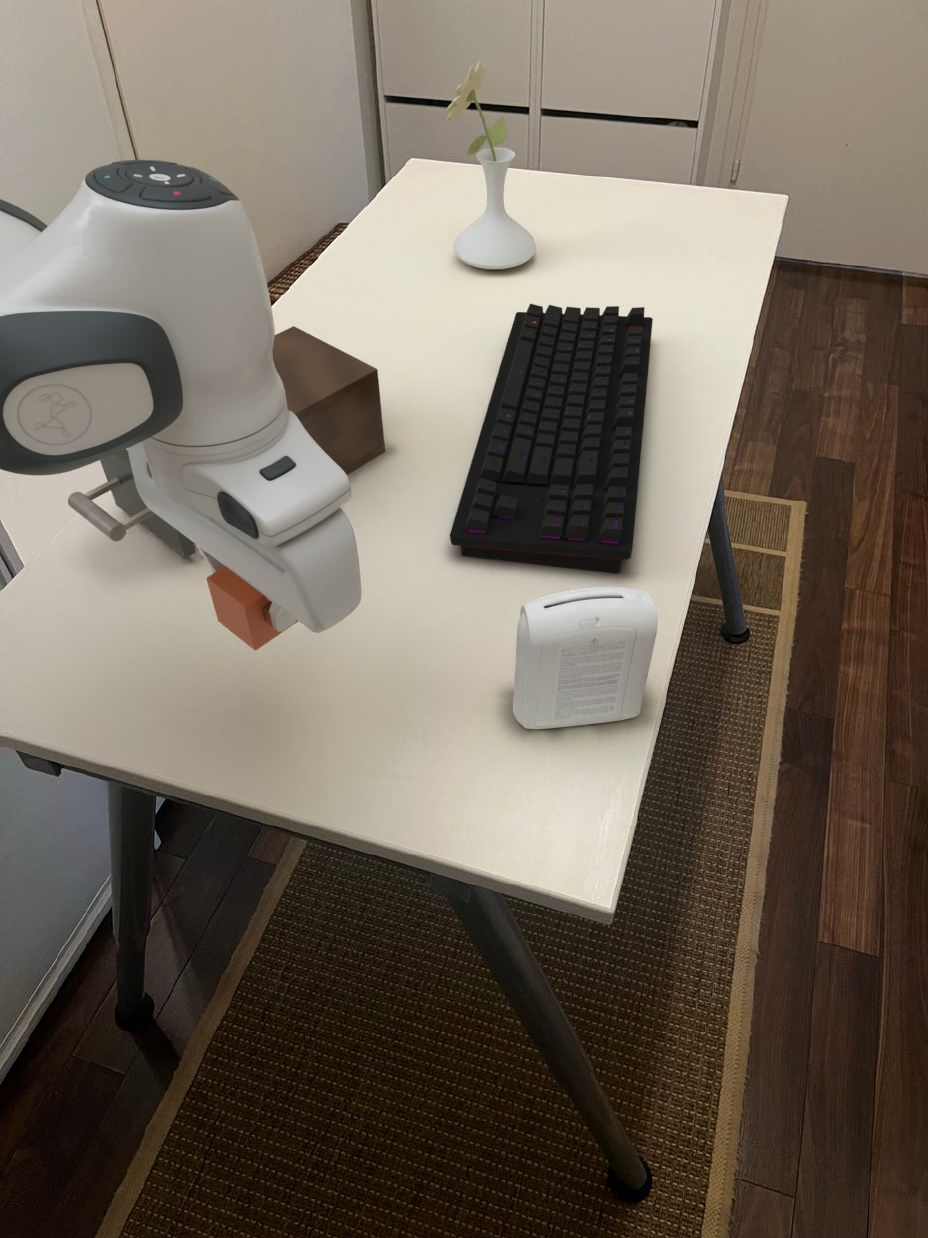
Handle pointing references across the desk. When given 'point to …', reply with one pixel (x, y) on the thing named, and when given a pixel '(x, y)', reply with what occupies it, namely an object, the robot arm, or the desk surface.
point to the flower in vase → (490, 193)
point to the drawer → (126, 507)
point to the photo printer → (583, 657)
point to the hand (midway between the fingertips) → (256, 603)
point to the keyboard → (560, 442)
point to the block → (240, 608)
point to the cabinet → (331, 397)
